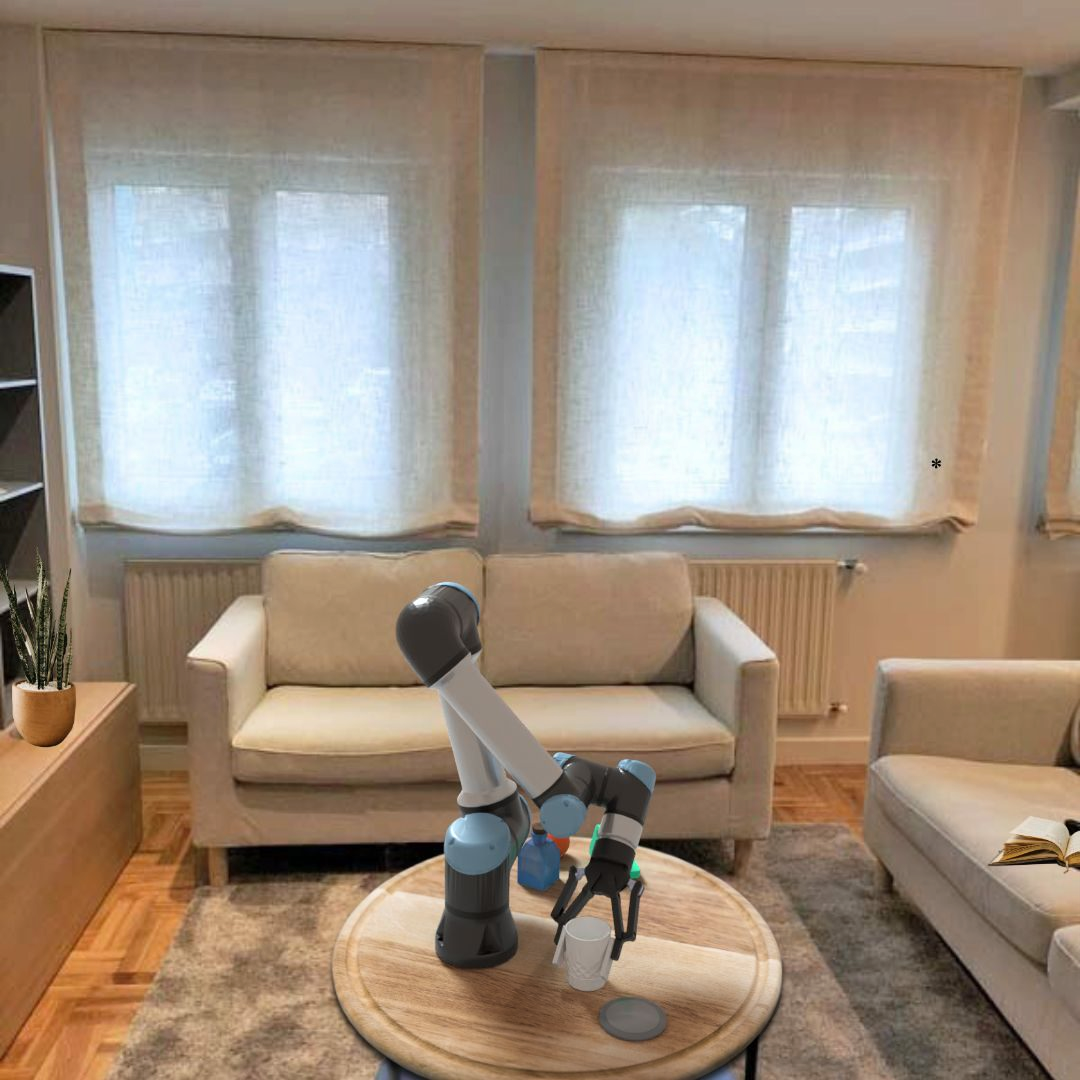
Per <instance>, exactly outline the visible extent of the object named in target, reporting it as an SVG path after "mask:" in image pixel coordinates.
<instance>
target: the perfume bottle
mask: <svg viewBox="0 0 1080 1080" xmlns="http://www.w3.org/2000/svg"><path fill="white" fill-rule="evenodd" d="M530 837H531V838H529V840H528V839H527V840H526V841H525V843H524V845H523V847H522V848H521V850H520V852H519V854H518V856H517V875H516V877H517V879H516V880H517V881H516V883H517V884H520V885H523V886H526V887H529V888H532V889H534V890H535V889H536V890H538V891H540V892H541V891H542V892H545V891H546V890H547V889H548V888H549V887H551V886H552V885H554V884H555V883H556V882H557V881H559V880H560V870H561V868H560V867H561V861H560V859H561V857H560V850H559V849H558V847H557V846H556V844H555V843H554V841H553V840H551V839H548V838H547V837H548V833H547V832H546V831H545V830H544V828H543V827H542V824H541V821H539V822H534V823H531V829H530Z"/></svg>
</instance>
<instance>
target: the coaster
mask: <svg viewBox="0 0 1080 1080" xmlns="http://www.w3.org/2000/svg"><path fill="white" fill-rule="evenodd" d="M598 1016H599V1017H598V1020H599V1023H600V1025H601V1028H602V1029H603V1030H604V1031H605V1032H607V1034H609V1035H611V1036H612V1037H615V1038H618V1039H620V1040H622V1041H623V1040H624V1041H629V1042H643V1041H649V1040H652V1039H654V1038H657V1037H658V1036H660V1035H661V1034H662V1033H663V1032H664V1031H665V1029H666V1028H667V1015H666V1012H665V1011H664V1010H663V1008H662V1007H661V1006H660V1005H658V1004H657V1003H656V1002H654V1001H652V1000H649V999H647V998H643V997H639V996H638V997H637V996H621V997H616V998H613V999H610V1000H609V1001H607V1002H605V1003H604V1004H603V1005H602V1006H601V1008H600V1011H599V1014H598Z"/></svg>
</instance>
